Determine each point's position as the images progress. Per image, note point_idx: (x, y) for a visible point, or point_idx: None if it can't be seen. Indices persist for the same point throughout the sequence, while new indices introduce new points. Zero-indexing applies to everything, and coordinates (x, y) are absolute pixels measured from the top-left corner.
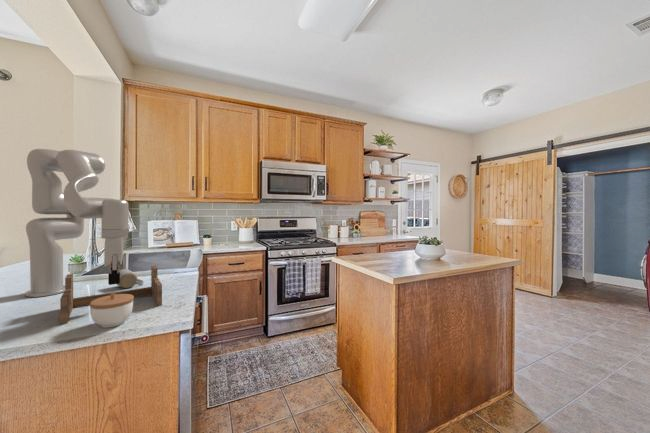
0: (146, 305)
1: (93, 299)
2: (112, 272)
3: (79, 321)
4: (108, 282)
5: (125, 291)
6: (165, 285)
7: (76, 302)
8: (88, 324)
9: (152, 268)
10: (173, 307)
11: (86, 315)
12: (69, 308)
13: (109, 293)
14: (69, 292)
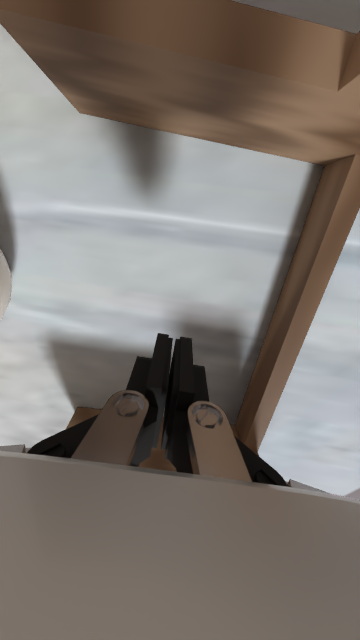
0: (113, 386)
1: (308, 252)
2: (92, 422)
3: (74, 163)
4: (157, 339)
5: (271, 374)
6: (313, 476)
7: (333, 177)
8: (7, 189)
9: None
10: (32, 433)
11: (143, 200)
12: (174, 114)
13: (301, 320)
14: (198, 56)
